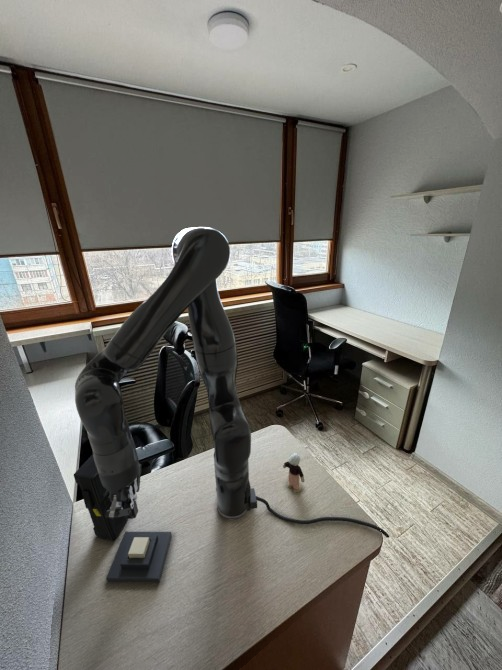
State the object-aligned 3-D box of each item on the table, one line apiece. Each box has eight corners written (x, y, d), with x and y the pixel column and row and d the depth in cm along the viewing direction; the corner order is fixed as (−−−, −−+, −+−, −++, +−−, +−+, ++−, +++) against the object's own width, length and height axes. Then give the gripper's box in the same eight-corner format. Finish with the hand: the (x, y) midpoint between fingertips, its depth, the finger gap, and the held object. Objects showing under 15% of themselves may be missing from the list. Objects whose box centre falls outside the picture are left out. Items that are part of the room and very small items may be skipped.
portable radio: (112, 546, 68) (89, 475, 59) (92, 541, 69) (65, 471, 60) (131, 516, 75) (113, 448, 66) (112, 512, 76) (91, 444, 67)
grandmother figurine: (306, 486, 83) (309, 456, 78) (302, 496, 80) (304, 465, 75) (284, 475, 87) (286, 445, 82) (279, 484, 84) (280, 454, 79)
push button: (171, 535, 70) (170, 527, 69) (159, 582, 61) (157, 573, 60) (126, 535, 71) (124, 527, 69) (107, 582, 61) (104, 573, 60)
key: (149, 541, 66) (148, 537, 66) (144, 558, 63) (143, 553, 62) (135, 541, 66) (134, 537, 66) (129, 558, 63) (127, 553, 62)
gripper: (120, 487, 49) (137, 546, 55) (146, 434, 61) (158, 488, 68) (79, 488, 49) (101, 547, 55) (113, 435, 61) (128, 488, 68)
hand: (132, 514), depth 61 cm, fingers closed
